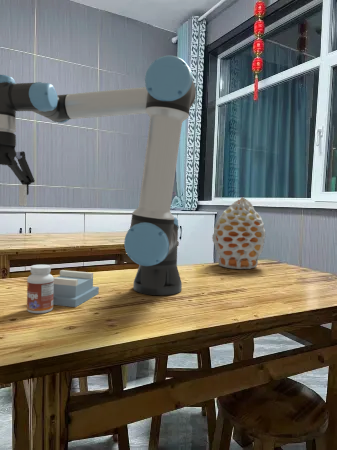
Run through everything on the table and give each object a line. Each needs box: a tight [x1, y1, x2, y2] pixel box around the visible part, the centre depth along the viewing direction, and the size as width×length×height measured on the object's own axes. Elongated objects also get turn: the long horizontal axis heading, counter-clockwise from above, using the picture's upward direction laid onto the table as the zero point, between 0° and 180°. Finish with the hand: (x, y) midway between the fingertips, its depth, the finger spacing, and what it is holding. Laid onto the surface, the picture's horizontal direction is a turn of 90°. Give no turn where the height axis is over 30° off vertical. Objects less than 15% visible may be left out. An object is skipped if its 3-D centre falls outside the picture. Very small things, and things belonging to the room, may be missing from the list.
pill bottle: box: [26, 264, 54, 314], centre depth 90 cm, size 6×6×11 cm
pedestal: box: [53, 269, 100, 308], centre depth 102 cm, size 12×14×6 cm
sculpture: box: [211, 197, 266, 270], centre depth 156 cm, size 21×22×30 cm
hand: (2, 206), depth 106 cm, fingers open, 13 cm apart
